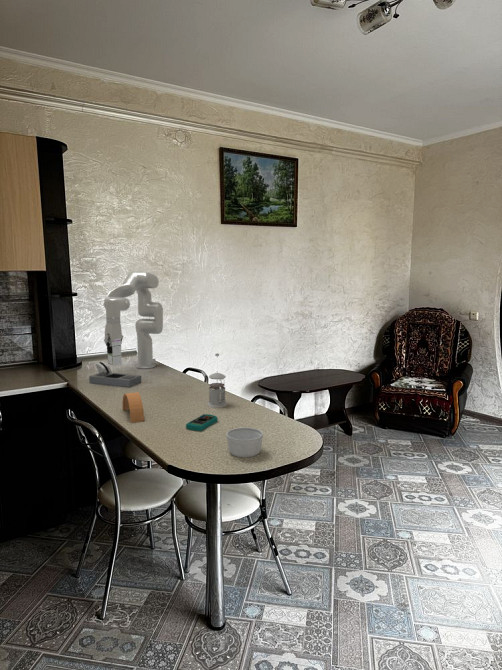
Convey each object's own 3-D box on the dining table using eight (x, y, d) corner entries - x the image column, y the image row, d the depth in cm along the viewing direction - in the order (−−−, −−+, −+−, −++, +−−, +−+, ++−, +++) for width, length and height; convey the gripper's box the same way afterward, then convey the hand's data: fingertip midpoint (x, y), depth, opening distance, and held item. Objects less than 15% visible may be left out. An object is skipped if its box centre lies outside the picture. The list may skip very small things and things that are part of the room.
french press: (203, 405, 223) (203, 354, 219) (213, 399, 233) (213, 350, 230) (222, 408, 219) (222, 355, 216) (231, 401, 230) (232, 351, 226)
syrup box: (122, 364, 263) (121, 338, 261) (112, 365, 259) (111, 339, 257) (116, 362, 267) (115, 337, 265) (107, 364, 263) (106, 338, 261)
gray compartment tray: (102, 378, 275) (102, 371, 274) (141, 382, 266) (141, 375, 266) (89, 383, 263) (89, 376, 263) (129, 387, 255) (129, 380, 254)
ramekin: (220, 455, 165) (220, 436, 164) (234, 442, 177) (234, 425, 176) (255, 461, 160) (255, 442, 159) (267, 447, 172) (268, 429, 171)
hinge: (116, 377, 276) (110, 362, 273) (108, 381, 274) (102, 366, 271) (107, 372, 290) (101, 358, 287) (100, 376, 288) (93, 361, 284)
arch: (130, 423, 198) (129, 400, 197) (122, 409, 216) (121, 388, 215) (144, 421, 201) (143, 398, 199) (135, 408, 219) (134, 387, 217)
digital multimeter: (218, 421, 202) (218, 415, 201) (200, 432, 188) (200, 425, 188) (203, 419, 205) (203, 412, 204) (185, 430, 191) (185, 423, 191)
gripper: (116, 319, 269) (117, 349, 271) (97, 322, 253) (98, 354, 255) (128, 319, 267) (128, 350, 269) (109, 322, 250) (110, 355, 253)
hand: (114, 351), depth 262 cm, fingers closed on syrup box, 7 cm apart
